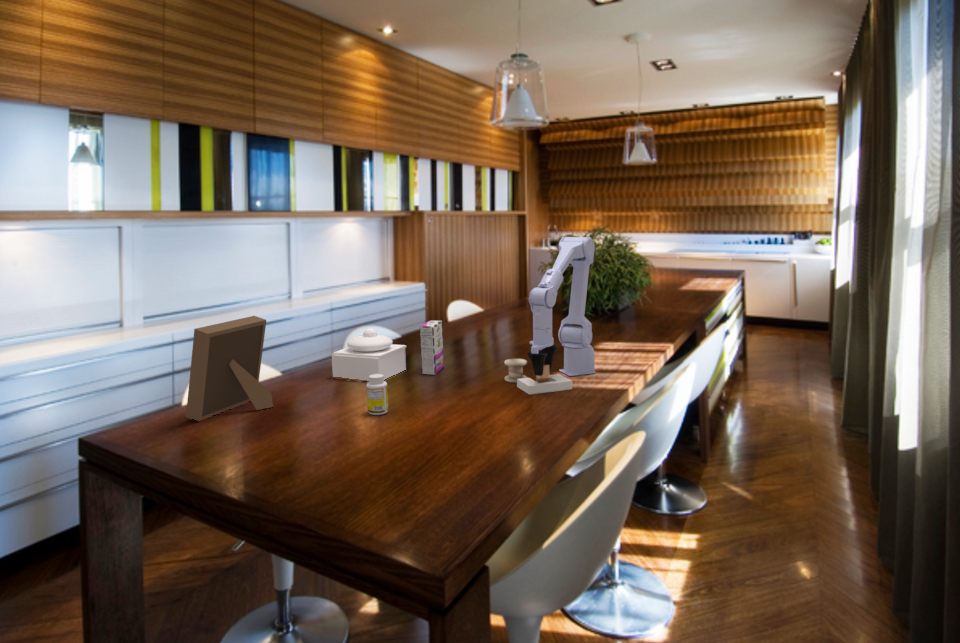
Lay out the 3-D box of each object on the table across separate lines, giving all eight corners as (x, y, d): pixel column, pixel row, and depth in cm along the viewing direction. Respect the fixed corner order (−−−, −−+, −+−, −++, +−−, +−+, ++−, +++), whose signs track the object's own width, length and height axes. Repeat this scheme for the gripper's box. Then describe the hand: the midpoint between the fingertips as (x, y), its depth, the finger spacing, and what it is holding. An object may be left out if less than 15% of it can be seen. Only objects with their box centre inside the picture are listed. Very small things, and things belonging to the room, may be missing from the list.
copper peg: (545, 384, 199) (545, 362, 197) (551, 388, 195) (551, 365, 194) (534, 386, 197) (533, 363, 196) (539, 389, 193) (539, 366, 192)
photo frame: (186, 420, 171) (177, 327, 167) (244, 398, 191) (238, 314, 187) (229, 427, 166) (222, 331, 161) (285, 403, 186) (280, 317, 181)
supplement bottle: (379, 408, 179) (377, 372, 177) (392, 411, 175) (391, 375, 173) (363, 413, 175) (361, 376, 173) (377, 417, 171) (375, 379, 169)
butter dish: (333, 379, 212) (330, 331, 209) (363, 366, 228) (361, 322, 225) (379, 383, 205) (376, 334, 202) (407, 370, 221) (405, 324, 218)
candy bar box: (430, 366, 225) (428, 320, 222) (444, 367, 224) (442, 320, 221) (421, 375, 214) (419, 326, 211) (435, 375, 213) (433, 326, 210)
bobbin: (521, 375, 210) (521, 357, 209) (530, 381, 203) (530, 362, 202) (501, 378, 207) (501, 359, 206) (509, 383, 201) (509, 364, 200)
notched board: (558, 381, 202) (558, 374, 201) (572, 389, 193) (572, 380, 193) (517, 386, 197) (517, 378, 196) (529, 394, 189) (529, 386, 188)
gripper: (538, 322, 201) (538, 365, 203) (521, 331, 188) (521, 376, 190) (560, 324, 198) (560, 367, 200) (544, 332, 185) (544, 379, 187)
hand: (543, 372), depth 195 cm, fingers open, 7 cm apart
